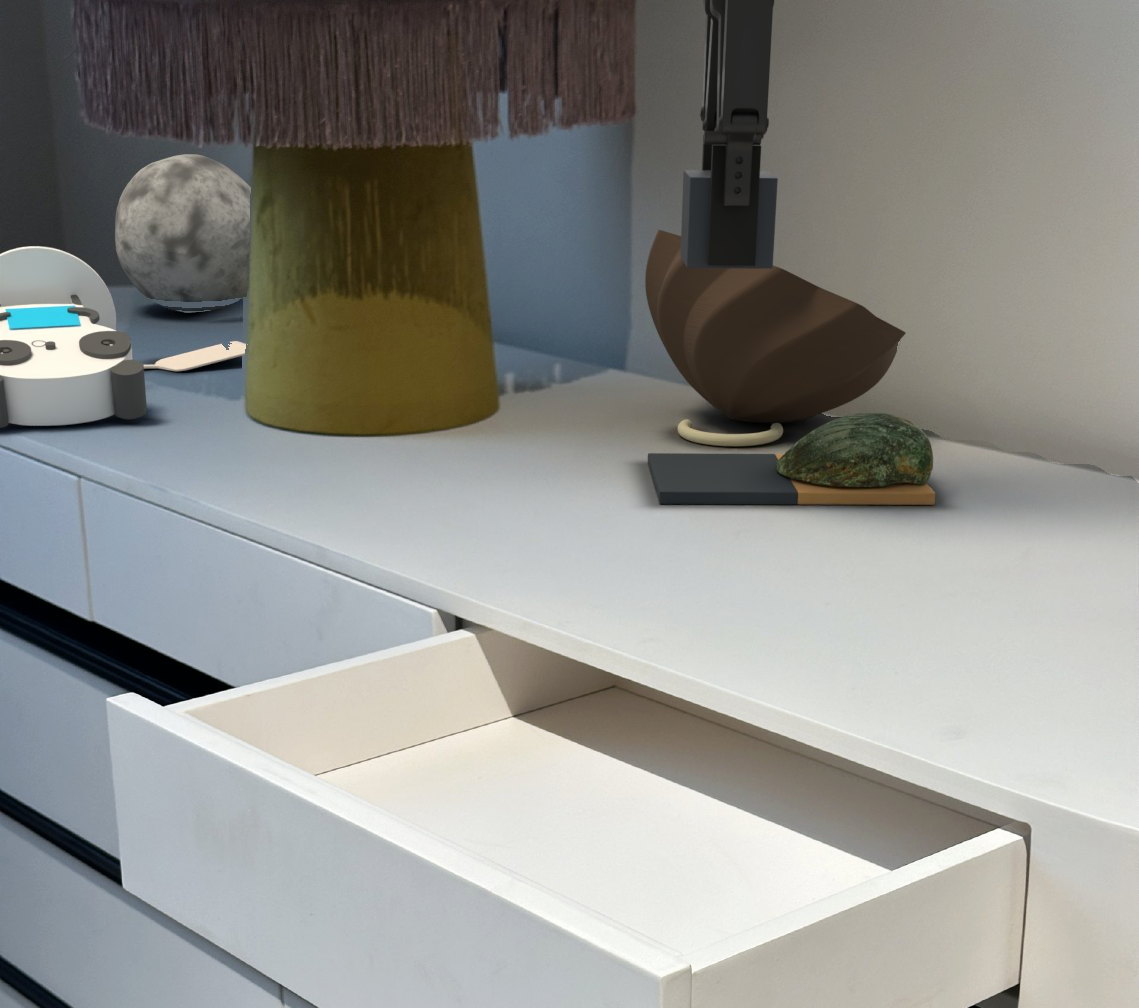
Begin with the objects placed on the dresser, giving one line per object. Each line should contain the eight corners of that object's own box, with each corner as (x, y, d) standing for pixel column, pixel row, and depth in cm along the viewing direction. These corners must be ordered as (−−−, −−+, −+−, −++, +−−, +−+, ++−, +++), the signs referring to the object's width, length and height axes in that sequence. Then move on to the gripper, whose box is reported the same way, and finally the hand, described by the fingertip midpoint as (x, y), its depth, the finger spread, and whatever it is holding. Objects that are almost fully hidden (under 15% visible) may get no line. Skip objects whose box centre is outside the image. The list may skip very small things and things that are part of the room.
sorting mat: (900, 465, 113) (901, 454, 112) (934, 505, 104) (935, 492, 103) (647, 464, 112) (647, 452, 112) (659, 504, 103) (659, 491, 103)
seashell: (841, 383, 112) (971, 408, 106) (839, 443, 114) (967, 471, 108) (746, 417, 106) (878, 445, 100) (746, 480, 108) (875, 512, 101)
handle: (780, 449, 116) (783, 433, 121) (780, 437, 116) (784, 421, 121) (672, 445, 118) (679, 429, 122) (672, 433, 117) (679, 417, 122)
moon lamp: (175, 138, 153) (249, 120, 166) (51, 208, 160) (131, 187, 173) (252, 291, 157) (319, 263, 170) (128, 354, 164) (201, 322, 177)
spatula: (262, 366, 143) (260, 348, 142) (-102, 395, 128) (-105, 376, 128) (236, 357, 147) (235, 340, 147) (-118, 384, 133) (-120, 365, 133)
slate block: (680, 256, 102) (683, 169, 100) (762, 257, 102) (767, 170, 100) (686, 267, 98) (690, 176, 96) (772, 268, 98) (778, 178, 96)
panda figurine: (118, 243, 128) (142, 323, 117) (129, 381, 135) (153, 469, 124) (-48, 248, 125) (-39, 332, 114) (-28, 390, 132) (-18, 481, 121)
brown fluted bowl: (961, 357, 119) (901, 489, 121) (800, 314, 135) (750, 431, 137) (759, 251, 108) (697, 398, 110) (610, 217, 124) (559, 346, 126)
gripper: (665, -173, 99) (653, 239, 108) (690, -212, 82) (673, 278, 92) (793, -171, 99) (770, 240, 108) (843, -210, 82) (811, 280, 92)
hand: (725, 257), depth 100 cm, fingers closed on slate block, 5 cm apart
